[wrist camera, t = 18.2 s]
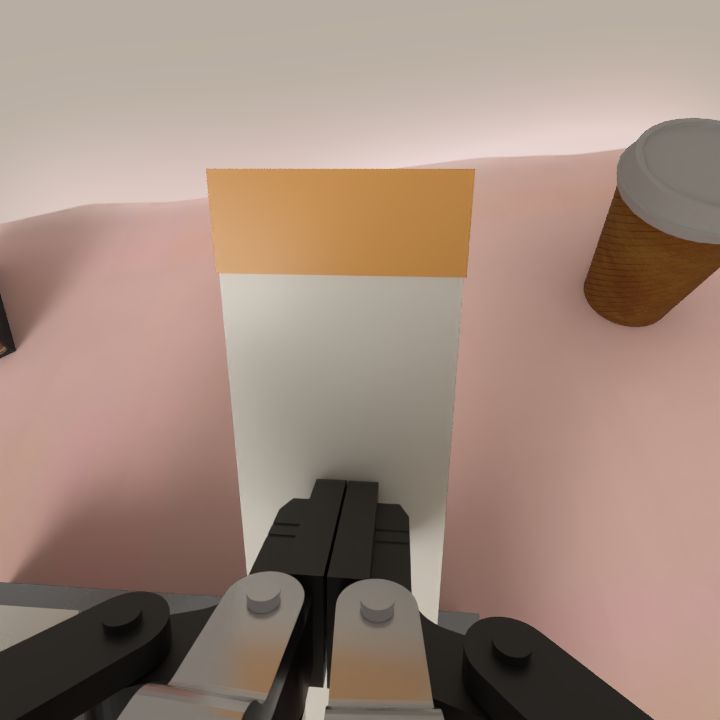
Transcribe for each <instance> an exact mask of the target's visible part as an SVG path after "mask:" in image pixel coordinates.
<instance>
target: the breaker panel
mask: <svg viewBox="0 0 720 720" xmlns="http://www.w3.org/2000/svg"><path fill="white" fill-rule="evenodd" d="M130 592H141V591H126V590H111V589H96V588H81V587H66V586H50V585H35V584H20V583H5V582H0V652H1V651H3V650H5V649H7V648H9V647H11V646H13V645H15V644H17V643H19V642H21V641H23V640H25V639H28V638H30V637H32V636H34V635H36V634H38V633H40V632H42V631H44V630H46V629H48V628H50V627H52V626H54V625H56V624H58V623H60V622H63V621H65V620H67V619H69V618H71V617H73V616H75V615H77V614H79V613H81V612H83V611H85V610H87V609H89V608H91V607H93V606H96V605H98V604H100V603H102V602H104V601H106V600H108V599H110V598H113V597H115V596H118V595H121V594H126V593H130ZM151 593H155V594H158V595H160V596H162V597H163V598H164V599H165V600H166V601H167V603H168V605H169V608H170V615H171V614H177V613H183V612H189V611H195V610H200V609H205V608H208V607H211V606H214V605H217V604H219V602H220V601H221V599H222V598H223V597H217V596H202V595H187V594H172V593H157V592H151ZM477 621H479V614H475V613H460V612H445V611H438V623H437V625H439V626H441V627H443V628H446V629H448V630H451V631H454V632H457V633H460V634H463V635H465V634H466V632H467V630H468V629H469V628H470V627H471V625H473V624H474V623H475V622H477ZM74 720H84V718H83V714H82V715H80V716H78V717H77V718H75V719H74Z"/></svg>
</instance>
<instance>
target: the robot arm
mask: <svg viewBox="0 0 720 720" xmlns="http://www.w3.org/2000/svg"><path fill="white" fill-rule="evenodd" d="M378 498H379V482H367V481H349V482H348V485H347V480H332V479H317V480H316V482H315V485H314V487H313V490H312V493H311V496H310V498H309V499H301V498H293V499H292V500H290V501H289V502H288V503H287V504H285V505H284V506H283V507H281V508H280V509H279V511H278V513H277V515H276V517H275V520H274V522H273V525H272V526H271V528H270V530H269V532H268V537H266V539H265V541H264V543H263V545H262V547H261V549H260V552H259V554H258V556H257V558H256V560H255V562H254V564H253V567H252V569H251V571H250V573H249V575H248V576H246V577H244V578H242V579H240V580H238V581H237V582H235V583H234V584H233V585H232V586H231V587H230V588H229V589H228V590H227V591H226V593H225V594H224V596H223V598H222V599H221V601H220V602H219V604H217V605H214V606H211V607H208V608H205V609H200V610H195V611H189V612H183V613H177V614H171V615H170V608H169V605H168V603H167V601H166V600H165V599H164V598H163V597H162V596H160V595H158V594H155V593H151V592H130V593H126V594H121V595H118V596H115V597H113V598H110V599H108V600H106V601H104V602H102V603H100V604H98V605H96V606H93V607H91V608H89V609H87V610H85V611H83V612H81V613H79V614H77V615H75V616H73V617H71V618H69V619H67V620H65V621H63V622H60V623H58V624H56V625H54V626H52V627H50V628H48V629H46V630H44V631H42V632H40V633H38V634H36V635H34V636H32V637H30V638H28V639H25V640H23V641H21V642H19V643H17V644H15V645H13V646H11V647H9V648H7V649H5V650H3V651H1V652H0V720H74V719H75V718H77V717H78V716H80V715H82V714H83V718H84V720H306V698H307V693H308V689H309V687H319V688H323V687H324V682H325V676H326V670H327V689H329V701H328V706H326V708H325V715H324V720H654V719H652V718H651V717H650V716H648V715H647V714H646V713H645V712H643V711H642V710H641V709H639V708H638V707H637V706H635V705H634V704H633V703H632V702H630V701H629V700H628V699H626V698H625V697H624V696H623V695H621V694H620V693H619V692H617V691H616V690H615V689H613V688H612V687H611V686H610V685H608V684H607V683H606V682H604V681H603V680H602V679H600V678H599V677H598V676H597V675H595V674H594V673H593V672H591V671H590V670H589V669H587V668H586V667H585V666H584V665H582V664H581V663H580V662H578V661H577V660H576V659H574V658H573V657H572V656H571V655H569V654H568V653H567V652H565V651H564V650H563V649H562V648H560V647H559V646H558V645H556V644H555V643H554V642H552V641H551V640H550V639H549V638H547V637H546V636H545V635H543V634H542V633H541V632H539V631H538V630H536V629H535V628H533V627H532V626H530V625H528V624H526V623H524V622H521V621H519V620H515V619H511V618H506V617H489V618H485V619H481V620H479V621H477V622H475V623H474V624H473V625H471V627H470V628H469V629H468V630H467V632H466V634H465V635H463V634H460V633H457V632H454V631H451V630H448V629H446V628H443V627H441V626H439V625H437V624H435V623H433V622H432V621H430V620H429V619H427V618H426V617H425V616H424V615H423V614H422V613H421V612H420V611H419V608H418V604H417V601H416V599H415V597H414V596H413V595H412V589H411V558H410V527H409V516H408V515H407V513H406V512H405V511H404V509H403V508H402V507H401V505H400V504H386V503H378Z"/></svg>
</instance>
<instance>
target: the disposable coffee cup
mask: <svg viewBox="0 0 720 720" xmlns="http://www.w3.org/2000/svg"><path fill="white" fill-rule="evenodd" d="M606 219H607V220H606V221H605V223H604V227H603V230H602V234H601V235H600V239H599V241H598V245H597V248H596V251H595V254H594V257H593V260H592V263H591V266H590V269H589V272H588V275H587V278H586V280H585V283H584V293H585V296H586V298H587V301H588V303H589V304H590V305H591V307H592V308H593V309H594V310H595V311H596V312H598V313H599V314H600V315H602V316H603V317H605V318H606V319H608V320H610V321H612V322H615V323H618V324H621V325H625V326H634V327H640V326H647V325H650V324H653V323H655V322H657V321H659V320H660V319H661V318H662V317H663V316H664V315H666V314H667V313H668V312H669V311H670V310H671V309H672V308H673V307H675V306H676V305H677V304H678V303H679V302H680V301H682V300H683V299H684V298H685V297H686V296H687V295H689V294H690V293H691V292H692V291H693V290H694V289H696V288H697V287H698V286H699V285H700V284H701V283H702V282H703V281H705V280H706V279H707V278H708V277H709V276H710V275H712V274H713V273H714V272H715V271H716V270H717V269H718V268H720V121H717V120H711V119H700V118H687V119H676V120H670V121H665V122H662V123H660V124H657V125H655V126H653V127H651V128H649V129H648V130H646V131H645V132H644V133H643V134H642V135H641V136H640V138H639V139H638V140H637V141H636V142H634V143H633V144H632V145H631V146H629V147H628V148H627V149H626V150H625V151H624V153H623V154H622V155H621V157H620V160H619V163H618V166H617V187H616V190H615V194H614V198H613V199H612V202H611V206H610V208H609V213H608V214H607V217H606Z"/></svg>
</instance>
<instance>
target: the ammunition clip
mask: <svg viewBox="0 0 720 720" xmlns="http://www.w3.org/2000/svg"><path fill="white" fill-rule="evenodd" d="M14 351H16V348H15V345H14V341H13V337H12V334H11V330H10V327H9V323H8V320H7V316H6V313H5V309H4V306H3V302H2V299H1V295H0V358H1V357H3V356H6V355H8V354H10V353H12V352H14Z"/></svg>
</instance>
